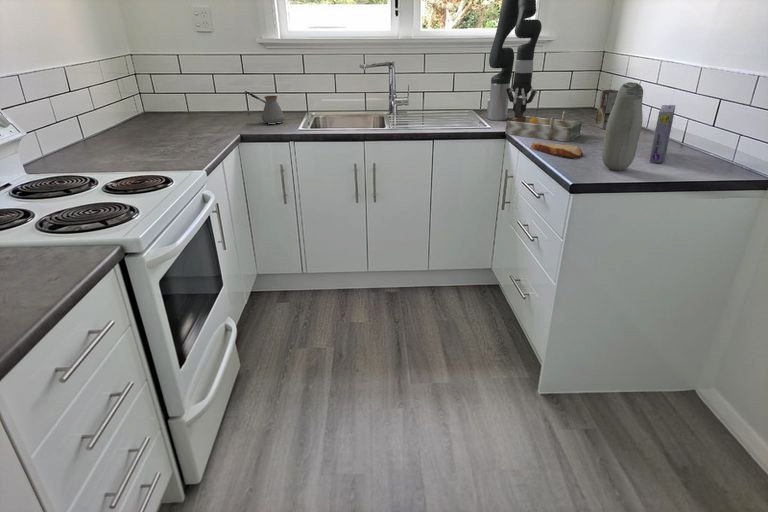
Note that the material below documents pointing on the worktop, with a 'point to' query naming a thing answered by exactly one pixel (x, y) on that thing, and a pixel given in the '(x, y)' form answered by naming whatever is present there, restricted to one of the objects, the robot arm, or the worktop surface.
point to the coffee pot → (270, 109)
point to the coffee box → (605, 107)
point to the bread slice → (558, 149)
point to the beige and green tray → (545, 129)
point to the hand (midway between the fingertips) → (519, 112)
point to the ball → (533, 120)
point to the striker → (519, 112)
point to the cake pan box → (662, 133)
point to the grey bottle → (623, 127)
